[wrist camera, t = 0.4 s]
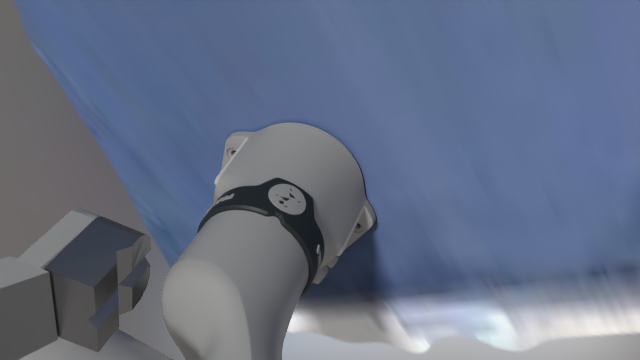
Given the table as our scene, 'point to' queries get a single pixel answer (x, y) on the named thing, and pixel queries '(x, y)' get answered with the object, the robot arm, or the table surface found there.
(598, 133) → the table surface
